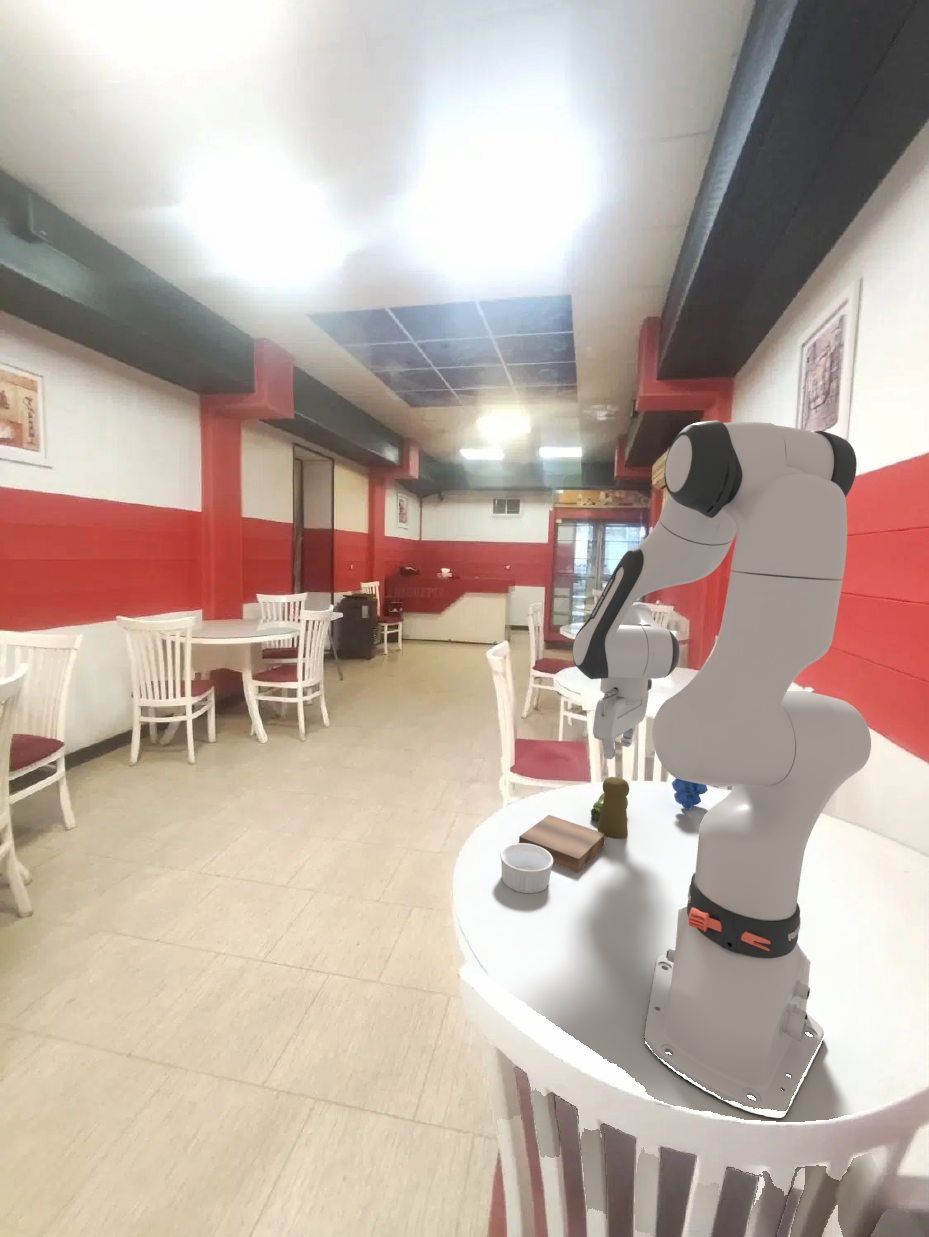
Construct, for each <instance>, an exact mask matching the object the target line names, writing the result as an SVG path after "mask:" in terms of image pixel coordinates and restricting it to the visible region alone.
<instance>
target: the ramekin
mask: <svg viewBox="0 0 929 1237" xmlns="http://www.w3.org/2000/svg"><path fill="white" fill-rule="evenodd" d="M499 857H500V862H501V863H500V864H501V879H502V881H503V883H504V884H505V885H506V886H507V887H508V888H510V889H512V890H513V891H515V892H518V893H522V894H523V893H524V894H536V893H540V892H542V891H544V890H545V889H546V888H547V887H548V886H549V884H550V879H551V872H552V868H553V865H554V863H553V857H552V855H551V854H550V853H549V852H548V851H547V850H545V849H544V848H542V847H539V846H537V845H533V844H528V843H519V842H518V843H512V844H509V845H507V846H505V847H503V849H501V851H500V854H499Z"/></svg>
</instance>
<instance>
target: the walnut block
mask: <svg viewBox="0 0 929 1237" xmlns="http://www.w3.org/2000/svg"><path fill="white" fill-rule="evenodd" d="M518 838H519V839H518V843H528V844H533V845H537V846H539V847H542V848H544V849H545V850H547V851H548V852H549V853H550V854H551V855H552V857H553V864H555V865H558V866H560V867H563V868H565V869H568V870H571V871H573V872H575V873H579V872H580V871H581V870H582V869H583V868H584V867H585V866H586V865H587V864H589V862H591V860H592V859H593V858H594V857H595V856H597V854H598V853H599V852H600V851H601V850H602V849H603V848H604V847H605V841H606V836H605V834H604V833H601V832H598V830H595V829H592V828H589V827H586V826H583V825H580V824H577V823H574V822H571V821H569V820H565V819H563V818H560V817H557V816H554V815H551V814H548V815H547V816H545V817H544V818H542V819H541V820H540V821H538V822H537V823H535V825H533V826H531V827H530V828H529V829H528V830H526V831H524V832H523V833H522V834H520V835H519V837H518Z"/></svg>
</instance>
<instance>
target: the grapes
mask: <svg viewBox="0 0 929 1237" xmlns="http://www.w3.org/2000/svg"><path fill="white" fill-rule="evenodd" d="M707 786H708V785H704V784H698V783H693V782H688V781H684V780H679V779H677V778H675V779H674V780H673V781H672V782H671V787H672V788H673V790H674V791H675V793H674V795H673V797H674V799H675V802H676V803H677V804H679V805H681V806H682V808H684V809H685V810H690V809H691V808H692V809H693V807H694V806H697V805H699V804H700V803H701V802H702V799H701V796H700V795H703V794H706V793H707V792H708V787H707Z"/></svg>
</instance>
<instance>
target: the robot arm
mask: <svg viewBox="0 0 929 1237" xmlns="http://www.w3.org/2000/svg"><path fill="white" fill-rule="evenodd" d="M665 459H666V460H665V465H664V476H663V477H664V483H665V484H664V485H665V488H666V490H667V492H668V495H667V497H666V500H665V502H664V504H663V507H662V510H661V511H660V512H661V513H660V516H659V518H658V521H657V522H656V523H655V526H654V527H653V529H652V530H651V531H650V533H649V534H648V535H647V536H646V537H645V538H644V539H643V540H642V541H641V542H640V543H639V544H638V545H636V546H635V547H633V548H632V549H630V550H627V552H625V553H624V555H623V556H622V558H621V559H620V560H619V562H618V563H617V565H616V567H615V569H614V571H613V572H612V574H611V576H610V577H609V578H608V582H607V583H606V585H605V586H604V589H603V591H602V593H601V594H600V597H599V598H598V599H597V602H596V603H595V606H594V608H593V610H592V612H591V613H590V615H589V617H588V619H587V620H586V621H585V623H584V624H583V625H582V626H581V627H580V629H579V630H578V632H577V633H576V635H575V637H574V642H573V645H572V660H573V663H574V665H575V666H576V667H577V669H578V670H579V671H580V672H581V673H582V674H583V675H585V676H586V677H587V678H588V679H589V680H600V687H599V689H600V692H602V693H603V697H601V698H600V699H599V700H598V701H597V703H596V706H595V712H594V719H593V726H592V735H593V738H594V739H597V740H599V741H601V743H602V746H603V758H605V759H607V760H612V759H614V758H615V756H616V748H615V742H616V739H617V738H619V737H620V736H621V738H620V739H621V740H620V745H621V746H622V747H626V748H629V747H630V746H631V745H632V742H633V737H634V734H635V731H636V726H637V725H638V724H640V723H642V722H643V721H644V719H645V717H646V713H647V707H648V702H649V701H648V700H649V691H650V690H652V686H653V679H654V680H655V679H661V678H663V679H666V678H667V677H668V676H670V675H671V674H672V673H673V672H674V671H675V669H676V667H677V666H678V663H679V659H680V642H679V641H678V639H677V637H676V636H675V635H674V634H673V632H672V631H671V630H670V629H669V628H666V627H663V626H661V625H660V624H659V623H658V622H657V621H656V620H655V619H654V618H653V614H652V609H651V608H650V606H648V605H645V604H642V603H636V601H638V600H639V599H641V598H642V597H645V596H646V595H649V594H652V593H653V592H656V591H659V590H663V589H666V588H671V587H675V586H680V585H684V584H685V585H686V584H690V583H694V582H696V581H700V580H702V579H703V578H706V577H708V576H709V575H710V574H712V573H713V572H715V571H716V570H717V568H719V566H720V565H721V564H722V562H723V561H724V559H725V558H726V556H727V554H728V553H729V550H730V548H731V547H732V546H731V545H732V544H733V541H734V539H735V545H734V547H733V551H732V556H731V557H732V558H731V565H730V572H729V579H728V585H727V591H726V598H725V603H724V609H723V614H722V620H721V624H720V629H719V632H718V635H717V638H716V640H715V643H714V645H713V648H711V649H712V650H711V651H710V653H709V655H708V657H707V658H706V659H705V662H704V663H703V665H702V666H701V668H700V669H699V671H698V672H697V673H696V675H695V676H694V677H693V678H692V679H691V680H690V682H689V683H687V685H685V686H684V687H683V688H682V689H681V690H680V691H678V692H676V693H675V694H673V695H672V696H670V697H669V698H668V699H666V700H665V701H664V702H663V703H662V704H661V706H660V707H659V709H658V711H657V713H656V714H655V716H654V719H653V724H652V730H651V731H652V733H651V735H652V738H651V739H652V744H653V747H654V751H655V754H656V756H657V758H658V760H659V762H660V764H661V765H662V767H663V768H664V769H665V770H666V771H667V772H668V773H669V775H671V776H673V778H675V779H679V780H684V781H688V782H693V783H698V784H704V785H706V786H710V787H715V788H716V787H718V788H720V787H721V788H722V787H723V788H725V787H732V789H731V791H730V792H729V793H728V795H726V797H724V798H723V799H722V800H721V801H719V802H718V803H716V804H715V805H713V806H712V807H711V808H710V809H708V810H707V812H706V813H705V814H704V815H703V817H702V820H701V821H700V825H699V828H698V829H699V830H698V840H697V852H696V864H695V872H693V874H692V876H691V880H690V884H689V886H688V887H689V888H688V891H687V892H688V893H687V905H686V906H684V907H682V908H680V909H678V911H677V920H676V922H677V923H676V934H675V947H674V949H672V948H668V950H666V954H661V955H658V956H656V959H655V960H656V961H655V965H654V971H653V976H652V977H653V978H652V983H651V991H650V996H649V1001H650V1002H649V1003H648V1007H649V1008H648V1009H647V1014H646V1020H647V1021H646V1020H645V1026H646V1027H645V1028H644V1033H645V1034H643V1039H644V1038H645V1041H646V1042H647V1044H648V1045H649V1046H650V1048H651V1049H652V1051H653V1053H655V1054H656V1055H657V1056H658V1057H659V1058H661V1059H663V1060H664V1061H665V1062H667V1063H668V1064H669V1065H670V1066H672V1067H673V1068H674V1069H675V1070H676V1071H679V1072H680V1073H682V1074H685V1075H686V1076H687V1077H688V1078H691V1079H692V1080H693V1081H694V1082H697V1083H698V1084H700V1085H701V1086H702V1087H705V1088H706V1090H709V1091H711V1092H714V1093H715V1094H717V1095H718V1096H720V1097H721V1099H722V1098H723V1100H728V1101H735V1102H738V1103H740V1104H742V1105H743V1106H748V1107H753V1109H755V1108H758V1109H759V1108H761V1109H771V1110H772V1109H773V1110H777V1111H786V1110H787V1109H788V1107H789V1104H790V1101H791V1098H792V1096H793V1095H794V1092H795V1091H796V1089H797V1086H798V1083H799V1082H800V1079H801V1078H802V1075H803V1073H804V1072H805V1070H806V1068H807V1066H808V1064H809V1062H810V1060H811V1058H812V1056H813V1055H814V1053H815V1051H816V1049H817V1047H818V1045H819V1044H820V1042H821V1040H822V1038H823V1036H825V1032H824V1029H823V1027H822V1026H821V1025H820V1023H819V1022H817V1021H816V1019H814V1018H813V1017H812V1016H811V1015H810V1014H808V1012H807V1007H808V1006H807V1004H808V999H809V996H810V994H811V993H810V991H811V988H810V986H809V982H810V972H811V971H810V969H811V961H810V959H809V958H808V957H807V955H806V954H805V953H804V951H803V950H802V949H801V947H800V945H799V944H798V939H799V933H800V931H801V930H800V929H801V908H800V906H799V903H798V898H799V897H798V895H799V889H800V888H799V887H800V882H801V874H802V870H803V869H802V867H803V862H804V856H805V852H806V847H807V844H808V841H809V839H810V837H811V834H812V831H813V830H814V828H815V825H816V823H817V821H818V819H819V818H820V816H821V814H822V812H823V810H824V809H825V807H826V806H827V804H828V802H829V801H830V800H831V798H832V796H834V794H835V793H836V792H837V790H838V789H840V787H841V786H842V785H843V784H844V783H846V782H847V780H848V779H850V778H851V777H853V776H854V775H856V774H857V773H858V772H860V771H861V770H862V769H863V768H864V766H866V764H867V762H868V760H869V758H870V756H871V751H872V738H871V737H872V736H871V733H870V729H869V726H868V724H867V722H866V720H865V718H864V717H863V715H862V714H861V712H860V711H859V710H858V709H856V708H855V706H853V704H851V703H849V702H847V701H845V700H843V699H840V698H836V697H833V696H829V695H826V694H825V695H824V694H820V693H816V692H811V691H805V690H799V691H798V690H789V688H790V687H791V685H792V684H793V682H794V680H796V678H797V677H798V676H799V675H800V674H801V673H802V672H803V671H804V670H806V669H807V667H809V666H811V665H812V664H813V663H815V662H817V661H818V660H820V659H821V658H822V657H824V656H825V655H826V653H828V651H829V649H830V648H831V645H832V643H833V639H834V634H835V628H836V627H835V626H836V623H837V622H836V621H837V616H838V612H839V611H838V609H839V604H840V598H841V591H842V587H843V579H844V574H845V568H846V567H845V566H846V560H847V558H846V557H847V549H848V548H847V547H848V544H847V543H848V513H847V512H848V510H847V500H846V498H847V496H848V494H850V491H851V489H852V487H853V484H854V483H855V479H856V476H857V475H856V474H857V456H856V452H855V449H854V448H853V446H852V445H851V443H850V442H849V441H848V440H846V439H845V438H843V437H841V436H839V435H836V434H833V433H830V432H827V431H824V430H818V429H817V430H816V429H815V430H806V429H802V428H797V427H789V426H785V425H784V426H783V425H775V423H774V424H773V423H771V422H759V421H758V422H757V421H739V422H737V421H736V422H735V421H734V422H733V421H732V422H731V421H730V422H722V421H720V420H709V421H708V420H707V421H699V422H695V423H692V424H689V425H687V426H685V427H683V429H682V430H681V431H680V432H679V433H678V434H677V435H676V436H675V438H674V439H673V440H672V443H671V445H670V447H669V448H668V452H667V455H666V458H665ZM805 1032H809V1033H810V1034H812V1035H813V1037H809V1036H807V1035H806V1034H805ZM644 1035H645V1036H644ZM665 1052H670V1053H671V1054H672V1055H668V1054H666V1053H665ZM653 1053H652V1054H653ZM786 1074H789V1075H791V1078H790V1077H788V1076H786ZM781 1089H782V1090H783V1091H782V1090H781ZM747 1095H752V1096H754V1097H755V1098H756V1101H752V1100H750V1099H749V1098H748V1097H747Z"/></svg>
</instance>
